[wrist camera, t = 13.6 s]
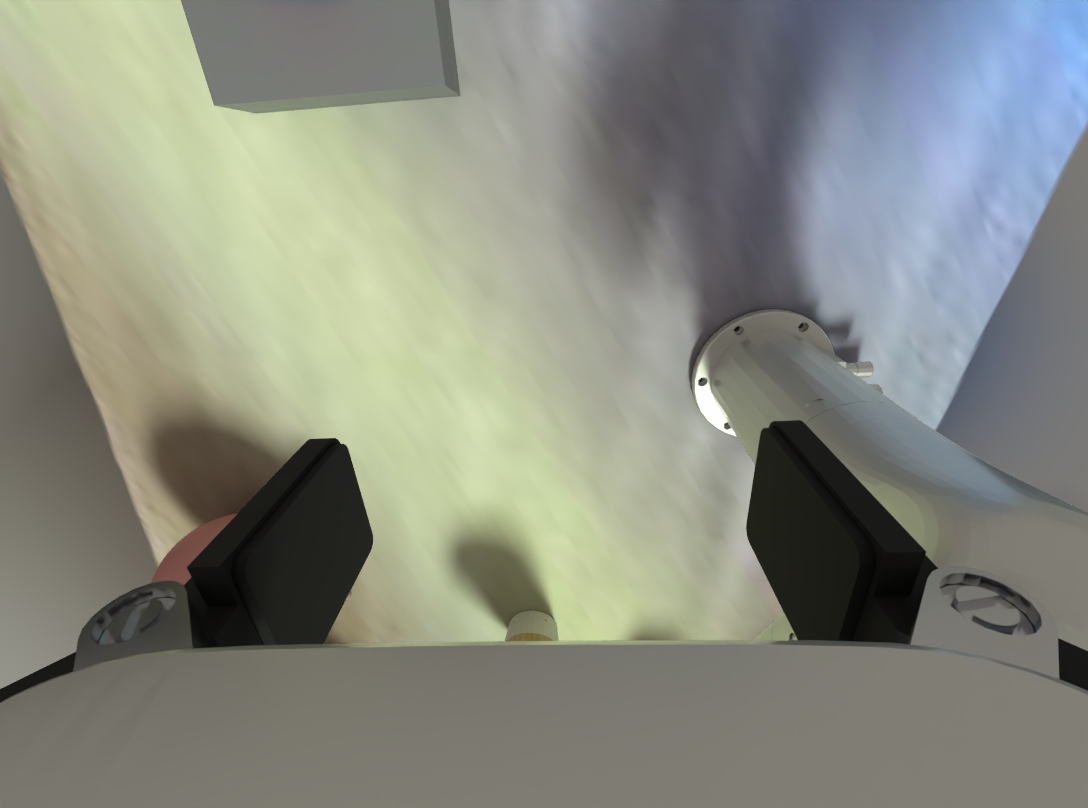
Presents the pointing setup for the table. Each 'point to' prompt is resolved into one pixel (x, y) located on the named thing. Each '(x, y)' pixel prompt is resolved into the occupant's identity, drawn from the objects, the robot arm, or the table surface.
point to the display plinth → (323, 52)
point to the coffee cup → (532, 627)
